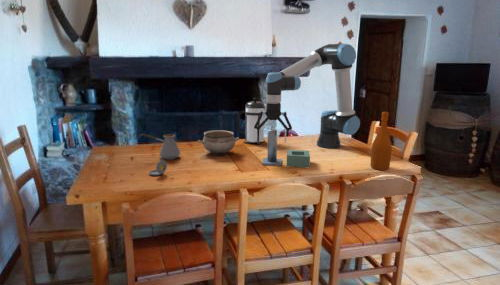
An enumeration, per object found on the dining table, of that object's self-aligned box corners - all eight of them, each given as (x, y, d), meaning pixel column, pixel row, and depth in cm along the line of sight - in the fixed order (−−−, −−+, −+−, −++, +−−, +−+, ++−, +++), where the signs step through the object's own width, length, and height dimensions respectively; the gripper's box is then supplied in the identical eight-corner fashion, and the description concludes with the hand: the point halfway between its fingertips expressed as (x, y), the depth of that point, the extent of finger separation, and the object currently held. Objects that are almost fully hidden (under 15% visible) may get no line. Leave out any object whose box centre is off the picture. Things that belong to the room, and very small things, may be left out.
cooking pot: (201, 159, 203) (201, 138, 200) (194, 151, 220) (194, 131, 217) (244, 155, 211) (244, 135, 208) (234, 148, 229) (234, 129, 226)
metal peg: (276, 159, 201) (277, 129, 197) (276, 162, 196) (276, 131, 192) (267, 159, 201) (267, 129, 197) (267, 162, 197) (267, 131, 193)
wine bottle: (390, 171, 187) (397, 113, 180) (370, 170, 189) (376, 112, 182) (387, 165, 196) (393, 110, 189) (368, 164, 198) (374, 109, 191)
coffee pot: (178, 154, 213) (177, 129, 209) (182, 159, 202) (181, 133, 199) (140, 157, 206) (139, 131, 202) (142, 162, 195) (140, 135, 192)
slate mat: (281, 160, 203) (281, 158, 203) (280, 165, 194) (280, 164, 193) (263, 159, 204) (263, 158, 204) (262, 164, 195) (262, 163, 194)
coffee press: (260, 139, 253) (261, 96, 246) (268, 144, 238) (270, 98, 231) (236, 140, 248) (236, 96, 241) (243, 146, 233) (244, 99, 226)
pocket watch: (150, 171, 181) (149, 152, 179) (167, 171, 182) (167, 152, 179) (147, 177, 173) (146, 157, 171) (165, 177, 174) (164, 156, 171)
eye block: (308, 161, 203) (308, 150, 201) (309, 167, 191) (310, 156, 190) (286, 160, 204) (287, 149, 203) (286, 166, 192) (286, 155, 191)
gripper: (249, 102, 189) (248, 142, 194) (297, 104, 186) (295, 144, 191) (250, 101, 196) (250, 139, 201) (297, 102, 194) (295, 141, 199)
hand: (272, 141), depth 196 cm, fingers open, 13 cm apart
